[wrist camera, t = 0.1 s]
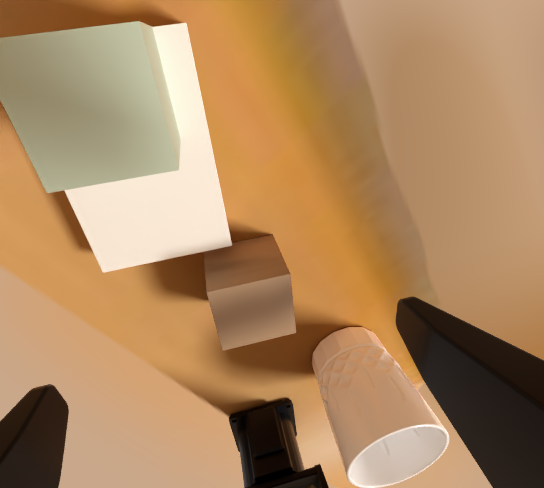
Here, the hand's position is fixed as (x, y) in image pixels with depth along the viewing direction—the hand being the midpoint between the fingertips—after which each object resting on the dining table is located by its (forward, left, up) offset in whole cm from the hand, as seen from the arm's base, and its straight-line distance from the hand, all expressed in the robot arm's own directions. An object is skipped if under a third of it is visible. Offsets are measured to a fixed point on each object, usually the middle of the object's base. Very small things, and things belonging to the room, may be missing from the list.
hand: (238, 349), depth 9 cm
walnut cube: (-8, -1, -15) cm, 17 cm away
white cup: (-20, -9, -15) cm, 26 cm away
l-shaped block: (+2, +3, -14) cm, 15 cm away
